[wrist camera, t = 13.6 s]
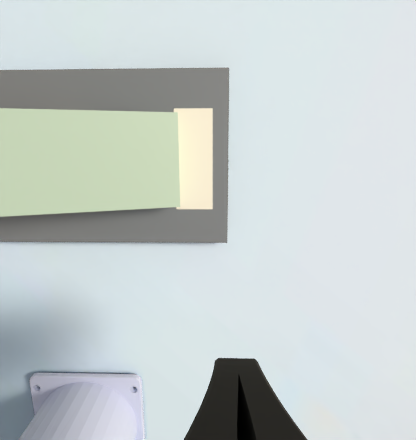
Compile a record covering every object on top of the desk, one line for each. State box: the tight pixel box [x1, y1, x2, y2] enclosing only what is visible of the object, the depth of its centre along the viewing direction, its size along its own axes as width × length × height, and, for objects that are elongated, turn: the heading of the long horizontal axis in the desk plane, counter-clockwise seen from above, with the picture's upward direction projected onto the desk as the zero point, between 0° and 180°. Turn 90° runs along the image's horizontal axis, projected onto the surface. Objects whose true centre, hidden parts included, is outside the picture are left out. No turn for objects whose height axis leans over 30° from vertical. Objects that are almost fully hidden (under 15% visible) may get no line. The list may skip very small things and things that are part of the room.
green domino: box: [0, 108, 180, 217], centre depth 16 cm, size 2×5×10 cm
